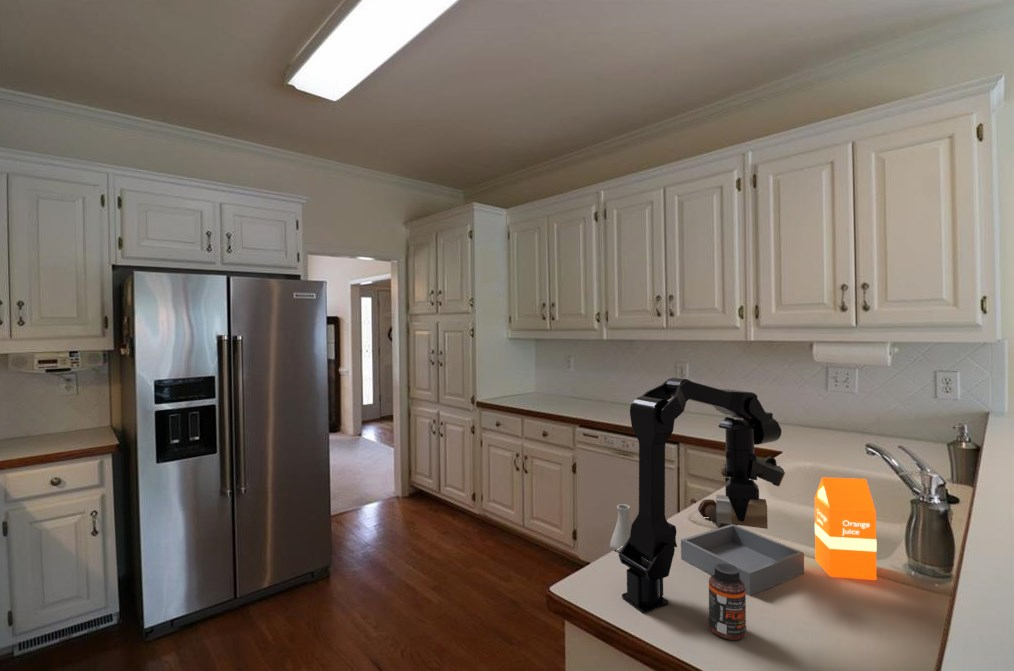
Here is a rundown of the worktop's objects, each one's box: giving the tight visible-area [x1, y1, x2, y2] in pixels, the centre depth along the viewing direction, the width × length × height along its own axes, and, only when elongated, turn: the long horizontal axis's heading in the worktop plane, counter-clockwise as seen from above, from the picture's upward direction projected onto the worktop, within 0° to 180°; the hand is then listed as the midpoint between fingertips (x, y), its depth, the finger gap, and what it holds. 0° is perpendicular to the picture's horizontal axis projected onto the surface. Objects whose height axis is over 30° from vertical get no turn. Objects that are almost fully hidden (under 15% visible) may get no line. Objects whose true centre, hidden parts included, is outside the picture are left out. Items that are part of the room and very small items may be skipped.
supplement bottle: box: [708, 563, 747, 641], centre depth 86 cm, size 6×6×11 cm
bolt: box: [697, 498, 731, 529], centre depth 129 cm, size 6×5×15 cm
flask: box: [608, 503, 632, 553], centre depth 119 cm, size 7×7×10 cm
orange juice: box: [814, 476, 877, 581], centre depth 106 cm, size 8×9×20 cm
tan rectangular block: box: [715, 493, 768, 530], centre depth 108 cm, size 4×10×5 cm, turn 67°
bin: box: [680, 524, 805, 597], centre depth 108 cm, size 18×18×4 cm
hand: (740, 517), depth 108 cm, fingers closed on tan rectangular block, 4 cm apart
